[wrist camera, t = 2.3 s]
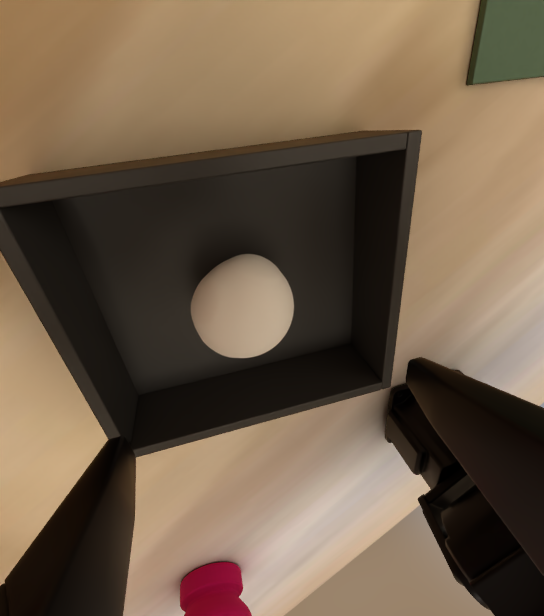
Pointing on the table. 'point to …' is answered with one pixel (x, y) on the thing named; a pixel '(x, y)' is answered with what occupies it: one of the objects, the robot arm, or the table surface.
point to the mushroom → (243, 307)
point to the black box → (201, 260)
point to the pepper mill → (213, 591)
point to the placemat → (508, 41)
